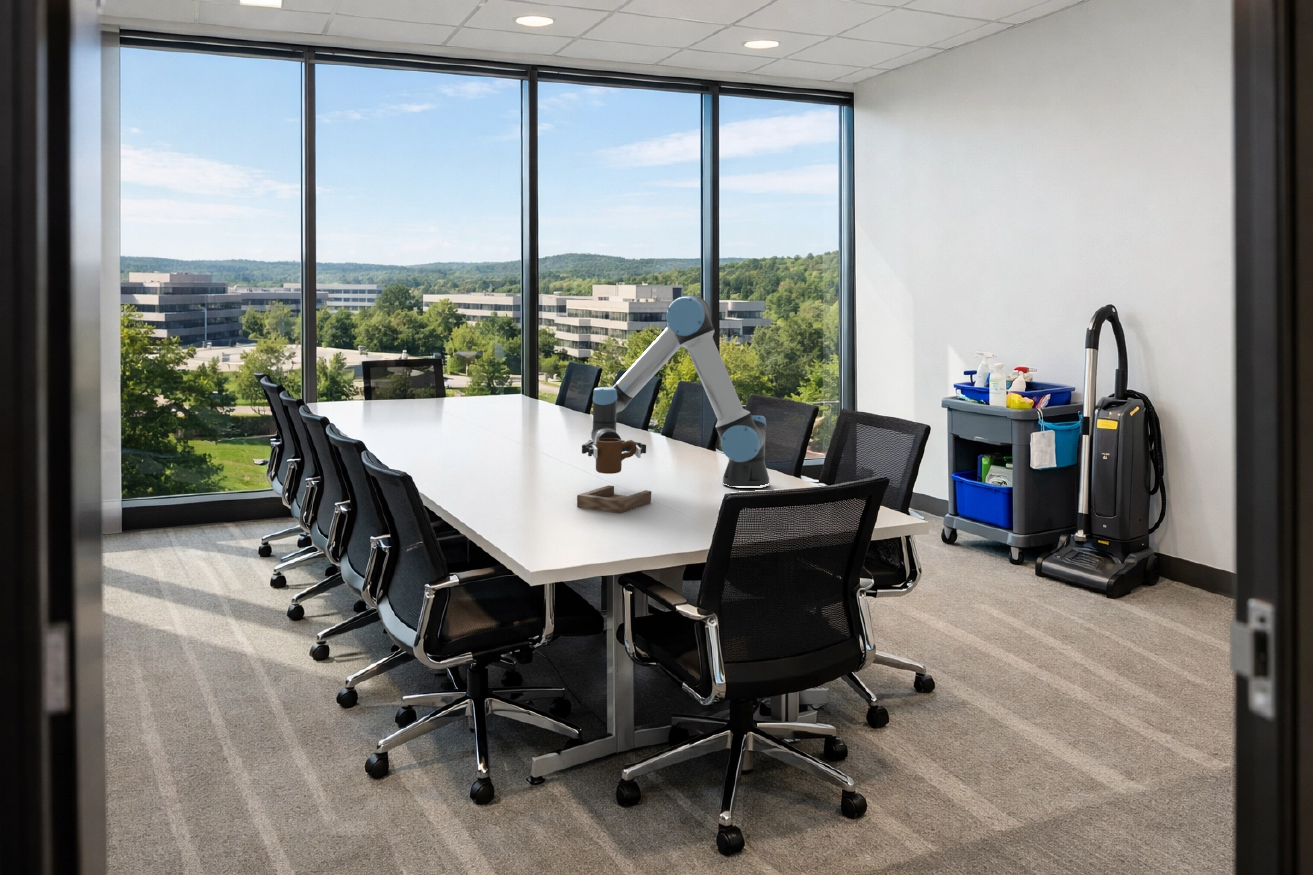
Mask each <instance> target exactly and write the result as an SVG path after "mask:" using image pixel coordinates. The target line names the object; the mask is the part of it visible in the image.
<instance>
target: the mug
mask: <svg viewBox="0 0 1313 875" xmlns="http://www.w3.org/2000/svg"><path fill="white" fill-rule="evenodd" d="M621 440H622V439H621ZM621 440H620V439H615V438H602V439H597V441H596V448H597V449H598V450H597V458H595V471H596V472H597V473H599V474H605V475H606V474H609V475H611V474H613V475H615V474H618V473H621V471H622V463H623V461H624V460H625V459H627V458H632V457H633V456H635V452H636V444H635V443H634V442H635V441H634V440H633V441H634V442H633V441H629V440H624V441H625V442H623V443H622V441H621ZM627 446H632V447H631V450H630V451H629V452H627V451H625V452H622V448H624V447H627Z"/></svg>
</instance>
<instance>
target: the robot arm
mask: <svg viewBox="0 0 1313 875" xmlns="http://www.w3.org/2000/svg"><path fill="white" fill-rule="evenodd" d="M711 316H712V312H711V308H710V305H709V304H708V302H707V301H706V300H705V299H704V298H702V297H699V296H696V295H683V296H679V297H678V298H676V299H675V300H673V301H672V302H671V303H670V305H669V307H668V309H667V310H666V322H667V323H666V328H665V329H664V330H663V331H662V332H661V333H660V334H659V336H657V337H656V338H655V340H653V342H652V343H651V344H650V345H649V346H648V347H647V348H646V349H645V351H643V353H642V354H641V355H640V356H639V358H638V359H636V361H635V362H634V363H633V364H632V365H631V366H630V367H629V368H628V369H627V370H626V372H625V373H624V374H623V375H622V376H620V378H619V379H618V380H617V381H616V383H614V385H613V386H612V387H611V386H610V387H609V386H601V387H595V388H594V389H593V395H592V430H591V432H590V433H591V434H590V436H591V437H590V438H591V439H589V440H587V442H585V443H583V444H581V454H583V455H584V454H587V456H588V457H592V456H593V458H594V459H596V458H597V450H598V449H597V448H596V441H597V439H602V438H615V439H620V440H621V441H622V443H623V442H625V441H626V440H623V439H622V438H621V436H620V435H619V434H618V433H617V414H618V413H620V412H623V411H624V410H625V409H626V408H627V407H628V405H629V404H630V402H631V401H632V400H633V399H634V397H635V396H636V395H638V393H639V392H640V391H641V390H642V389H643V388H644V387H645V386H646V385H647V383H648V382H649V381H650V380H651V379H652V378H653V377H654V376H655V375H656V374H657V373H658V372H659V370H660V369H661V368H662V367H664V365H666V363H667V362H668V361H669V360H670V359H671V358H672V357H673V356H674V354H676V352H678V350H680V348H681V347H682V348H685V349H686V350H687V352H688V355H689V357H690V359H691V361H692V363H693V366H694V368H695V371H696V373H697V375H698V377H699V379H700V382H701V385H702V386H703V389H704V391H705V394H706V396H707V398H708V401H709V402H710V405H711V407H712V409H713V412H714V414H715V417H716V419H717V420H716V424H715V429H716V432H717V434H718V437H719V438H720V446H721V450H722V452H723V454H724V455H725V456H726V457H727V459H728V462H727V465H726V468H725V471H724V474H723V475H722V484H723V483H724V484H727V485H729V486H760V485H765V484H768V483H769V484H770V476H769V473H768V469H767V466H766V462H765V461H766V460H765V458H766V431H767V430H766V428H767V422H766V421H767V419H766V417H765V416H763V415H752V413H751V412H750V411H749V410H747V409H744V408H743V405H742V403H741V401H740V398H739V396H738V394H737V392H736V390H735V387H734V384H733V381H732V380H731V378H730V376H729V373H728V370H727V368H726V366H725V364H724V361H723V359H722V357H721V355H720V352H719V350H718V347H717V345H716V342H715V340H714V337H713V336H714V334H715V328H714V325H713V323H712V320H711ZM628 441H633V442H634V443H635V444H636V452H635V454H634V456H636V458H638V459H641V457H642V456H641V454H646V453H647V444H645V443H641V442H638V441H634V440H632V439H629V440H628ZM631 447H632V446H627V447H624V448H622V453H624V452H629V451H630V450H631Z"/></svg>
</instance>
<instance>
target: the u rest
mask: <svg viewBox="0 0 1313 875" xmlns="http://www.w3.org/2000/svg"><path fill="white" fill-rule="evenodd" d="M650 502H651V503H652V490H648V489H646V490H641V491H639V492H636V493H633V494H630V495H623V494H617V493H615V485H606V486H605V485H604V486H601V487H599V488H596V489H593V490H589V491H585V492H582V493H579V494H577V495H576V507H577V508H582V507H583V508H584V509H587V510H588V509H589V510H596V511H602V512H609V513H616V514H623V513H626V512H630V511H631V509H632V510H635V509H637V508H639V507H643V506H645V505H648V504H651V503H650ZM636 507H637V508H636ZM583 508H582V509H583Z"/></svg>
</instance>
